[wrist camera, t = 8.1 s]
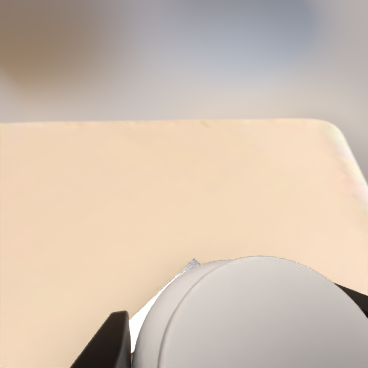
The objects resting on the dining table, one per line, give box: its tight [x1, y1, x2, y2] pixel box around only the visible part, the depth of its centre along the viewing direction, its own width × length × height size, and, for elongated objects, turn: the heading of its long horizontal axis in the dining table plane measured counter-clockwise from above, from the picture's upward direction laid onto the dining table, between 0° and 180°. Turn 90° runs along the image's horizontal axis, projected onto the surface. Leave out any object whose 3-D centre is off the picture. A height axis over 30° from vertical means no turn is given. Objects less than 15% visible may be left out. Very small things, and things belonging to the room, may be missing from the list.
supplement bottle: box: [132, 256, 368, 368], centre depth 9 cm, size 5×5×10 cm
